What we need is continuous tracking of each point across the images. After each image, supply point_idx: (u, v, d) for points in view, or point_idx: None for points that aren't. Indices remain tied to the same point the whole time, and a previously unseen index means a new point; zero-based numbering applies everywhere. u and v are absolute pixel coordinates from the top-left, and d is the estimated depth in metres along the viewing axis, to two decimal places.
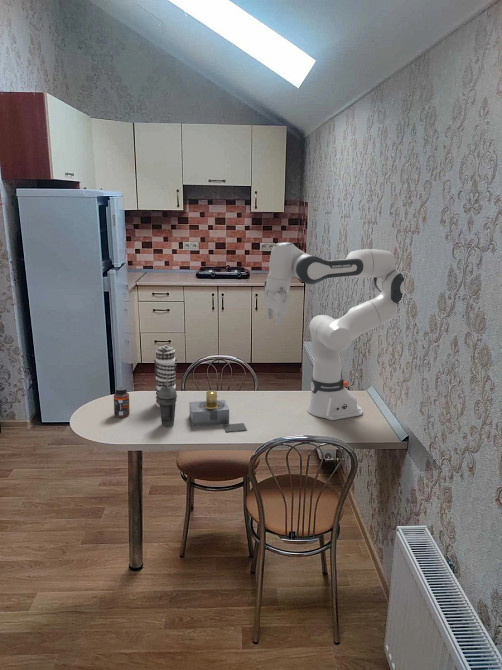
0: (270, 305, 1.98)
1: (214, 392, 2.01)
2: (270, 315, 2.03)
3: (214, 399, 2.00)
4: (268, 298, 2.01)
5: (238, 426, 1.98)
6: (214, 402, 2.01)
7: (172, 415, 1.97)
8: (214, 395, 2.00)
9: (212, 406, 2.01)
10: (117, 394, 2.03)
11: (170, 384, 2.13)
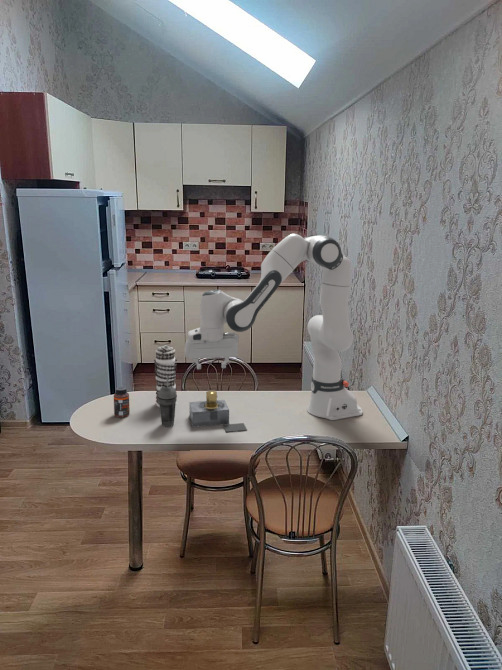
0: (210, 354, 1.95)
1: (214, 392, 2.01)
2: (200, 365, 1.97)
3: (214, 399, 2.00)
4: (201, 350, 1.94)
5: (238, 426, 1.98)
6: (214, 402, 2.01)
7: (172, 415, 1.97)
8: (214, 395, 2.00)
9: (212, 406, 2.01)
10: (117, 394, 2.03)
11: (170, 384, 2.13)
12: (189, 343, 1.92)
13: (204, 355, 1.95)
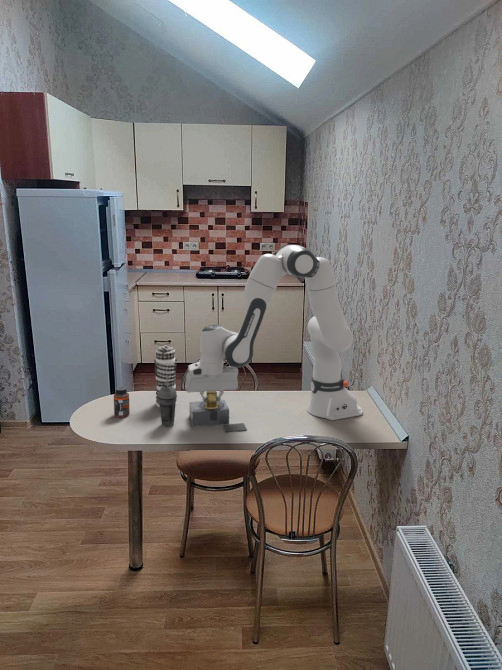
0: (211, 388, 1.99)
1: (214, 392, 2.01)
2: (206, 398, 2.01)
3: (214, 399, 2.00)
4: (201, 383, 1.97)
5: (238, 426, 1.98)
6: (214, 402, 2.01)
7: (172, 415, 1.97)
8: (214, 395, 2.00)
9: (212, 406, 2.01)
10: (117, 394, 2.03)
11: (170, 384, 2.13)
12: (189, 377, 1.95)
13: (204, 389, 1.98)
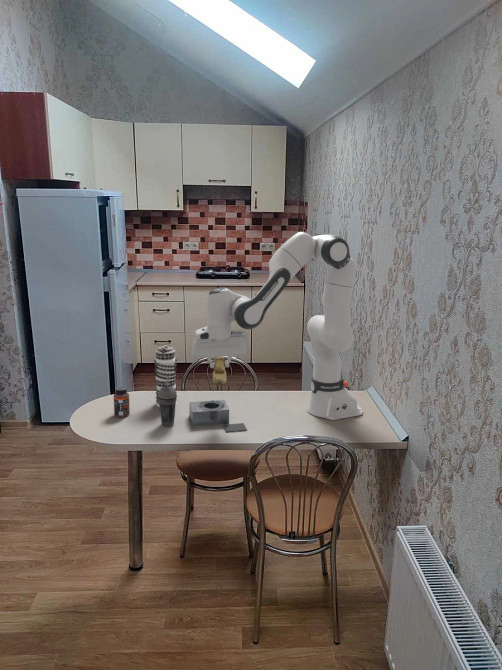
0: (218, 353, 1.93)
1: (222, 358, 1.95)
2: None
3: (222, 365, 1.95)
4: (208, 349, 1.92)
5: (238, 426, 1.98)
6: (222, 368, 1.95)
7: (172, 415, 1.97)
8: (222, 361, 1.94)
9: (220, 372, 1.95)
10: (117, 394, 2.03)
11: (170, 384, 2.13)
12: (196, 342, 1.90)
13: (212, 354, 1.93)
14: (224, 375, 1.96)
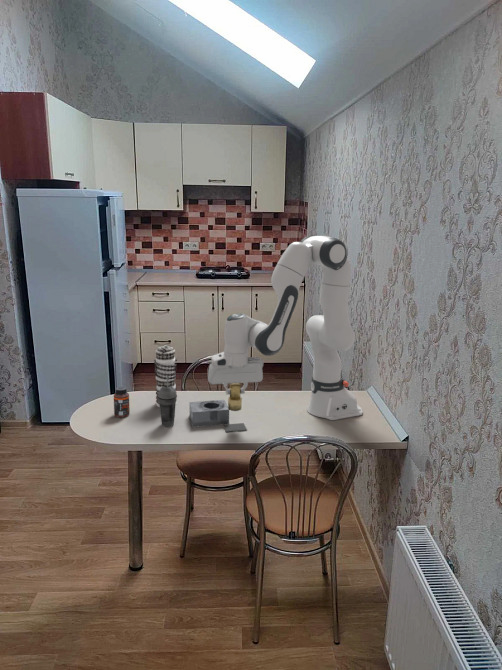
0: (235, 380, 1.90)
1: (238, 384, 1.92)
2: None
3: (238, 391, 1.92)
4: (225, 375, 1.89)
5: (238, 426, 1.98)
6: (238, 395, 1.92)
7: (172, 415, 1.97)
8: (238, 387, 1.91)
9: (236, 399, 1.92)
10: (117, 394, 2.03)
11: (170, 384, 2.13)
12: (213, 368, 1.87)
13: (228, 380, 1.90)
14: (240, 402, 1.93)
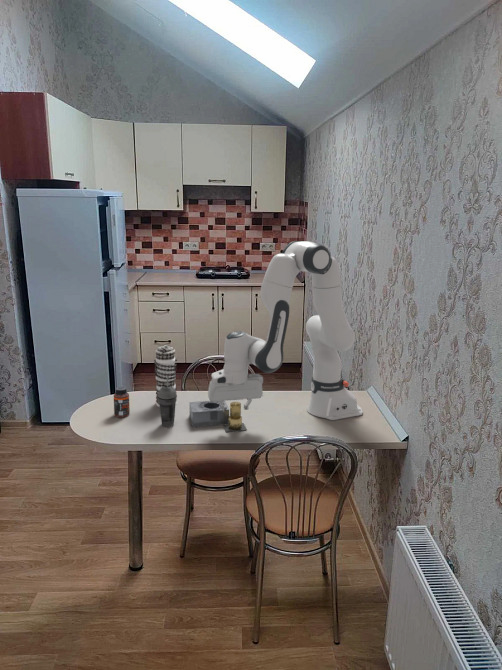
0: (235, 397, 1.92)
1: (238, 404, 1.94)
2: None
3: (238, 411, 1.94)
4: (225, 392, 1.91)
5: None
6: (238, 414, 1.94)
7: (172, 415, 1.97)
8: (238, 407, 1.94)
9: (236, 418, 1.94)
10: (117, 394, 2.03)
11: (170, 384, 2.13)
12: (213, 386, 1.88)
13: (228, 397, 1.92)
14: (240, 421, 1.95)
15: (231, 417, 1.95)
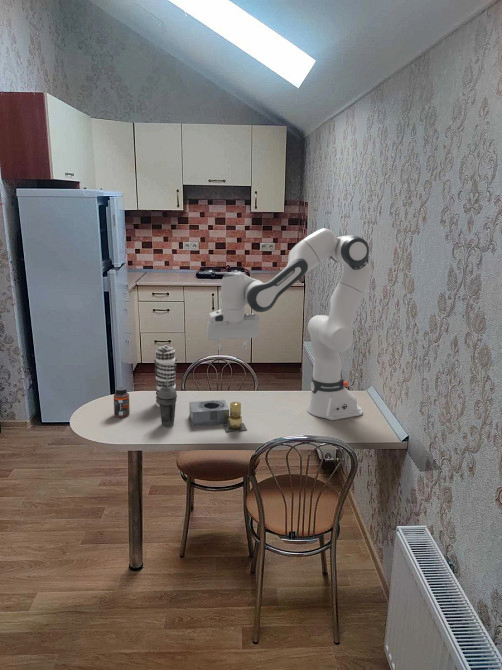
0: (232, 336, 1.98)
1: (238, 404, 1.94)
2: None
3: (238, 411, 1.94)
4: (222, 331, 1.96)
5: None
6: (238, 414, 1.94)
7: (172, 415, 1.97)
8: (238, 407, 1.94)
9: (236, 418, 1.94)
10: (117, 394, 2.03)
11: (170, 384, 2.13)
12: (211, 324, 1.94)
13: (226, 336, 1.97)
14: (240, 421, 1.95)
15: (231, 417, 1.95)
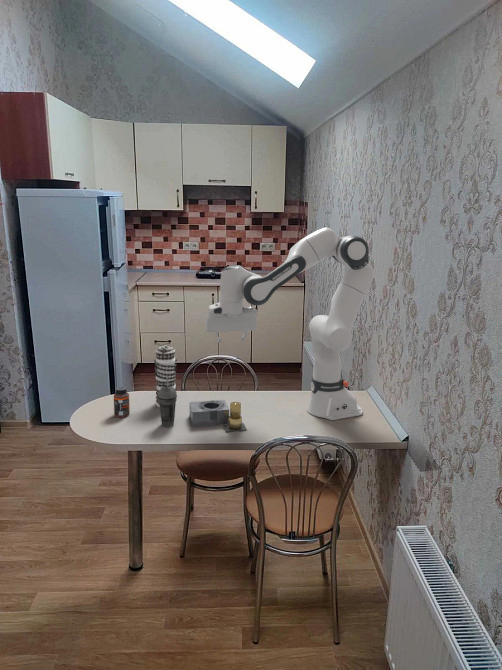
0: (230, 328, 2.03)
1: (238, 404, 1.94)
2: None
3: (238, 411, 1.94)
4: (221, 323, 2.01)
5: None
6: (238, 414, 1.94)
7: (172, 415, 1.97)
8: (238, 407, 1.94)
9: (236, 418, 1.94)
10: (117, 394, 2.03)
11: (170, 384, 2.13)
12: (210, 317, 1.99)
13: (224, 328, 2.02)
14: (240, 421, 1.95)
15: (231, 417, 1.95)
